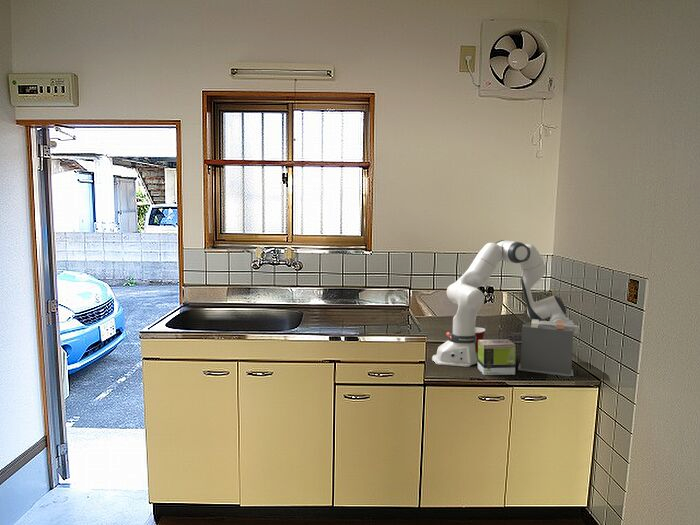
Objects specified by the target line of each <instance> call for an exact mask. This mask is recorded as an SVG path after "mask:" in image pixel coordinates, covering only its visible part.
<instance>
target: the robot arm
mask: <svg viewBox="0 0 700 525" xmlns="http://www.w3.org/2000/svg"><path fill="white" fill-rule="evenodd" d="M502 261H503V262H506V263H509V264H510V263H512V264H519V265H520V268H521V269H522V276H521V278H520V285H521V288H522V289H521V290H522V292H523V296H524V301H525V304H526V311H527V316H528V317H529V319H530V320H531V321H532V319H537V320H539V325H540V326H552V327H555V326H556V327H557V321H564V328H573V335H574V334H576V335H580V334H579V329H580V328H579V326H577V325H574V323H573V322H572V321H573V320H571V319H572V318H569V317H567V318H566V317H565V315H566V316H567V312H566V310H567V307H566V305H565V303H564V301H563V300H562V298H561V297H559V296H558V295H551V296H549V297H548V296H547V297H546V298H543V299H540V300H537V301H534V298H533V296H532V295H533V294H532V288H533V286H535V284H537V283H538V282H539V281H541V280H542V278H543V277H544V276H545V274H546V271H547V268H546V264H545V262H544V259H543V258H542V255H541V254H540V253H539V250H538V249H537V248H536V247H535V245H533V244H531V243H523V242H520V241H515V240H510V239H509V240H507V239H506V240H505V239H502V240H501V239H500V240H499V241H496V242H488V243H486V244H485V245H484V246H483V247H482V248H481V249H480V250H479V251H478V253H477V255H476V256H475V258H474V259H473V260H472V262H471V263H470V265H469V267H468V268H467V270H465V272H464V273H463V274H462V275H461V276H460V277H459V278H458V279H457V280H456V281H454V282H453V283H451V284H449V285H448V286H447V288H446V296H447V298H448V299H449V301H450V302H451V303H453V304H456V305H457V310H456V313H455V315H454V316H453V318H452V332H451V333H450V332H449V331H447V332H446V337H447V338H448V340H446V341H444V343H443V342H442V344H440V345H439V346H438V347H437V351H436V354H433V355H432V357H431V360H432V362H433V361H434V362H435V363H434V362H433V363H434V364H436V365H440V366H453V367H468V368H469V367H470V366H472V365H475V364H478V356H477V352H476V350H475V345H476V334H475V327H476V322H477V320H476V319H477V317H478V316H477V315H478V312H479V310H480V308H482V306H484V304H485V295H484V293H483V291H481V290H480V289H479V287H481V286H482V285H484V284H486V283H487V282H488V280H489V279H490V277H491V276H492V274H493V273H494V271H495V269H496V268H497V266H498V265H499V263H500V262H502ZM563 303H564V304H563ZM564 305H565V306H564ZM565 307H566V308H565ZM548 318H550V319H549V320H548V321H547V320H545V319H548Z"/></svg>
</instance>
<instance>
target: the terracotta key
mask: <svg viewBox="0 0 700 525" xmlns="http://www.w3.org/2000/svg"><path fill="white" fill-rule="evenodd" d="M555 327H556V326H555ZM557 329H564V321H557Z"/></svg>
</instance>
